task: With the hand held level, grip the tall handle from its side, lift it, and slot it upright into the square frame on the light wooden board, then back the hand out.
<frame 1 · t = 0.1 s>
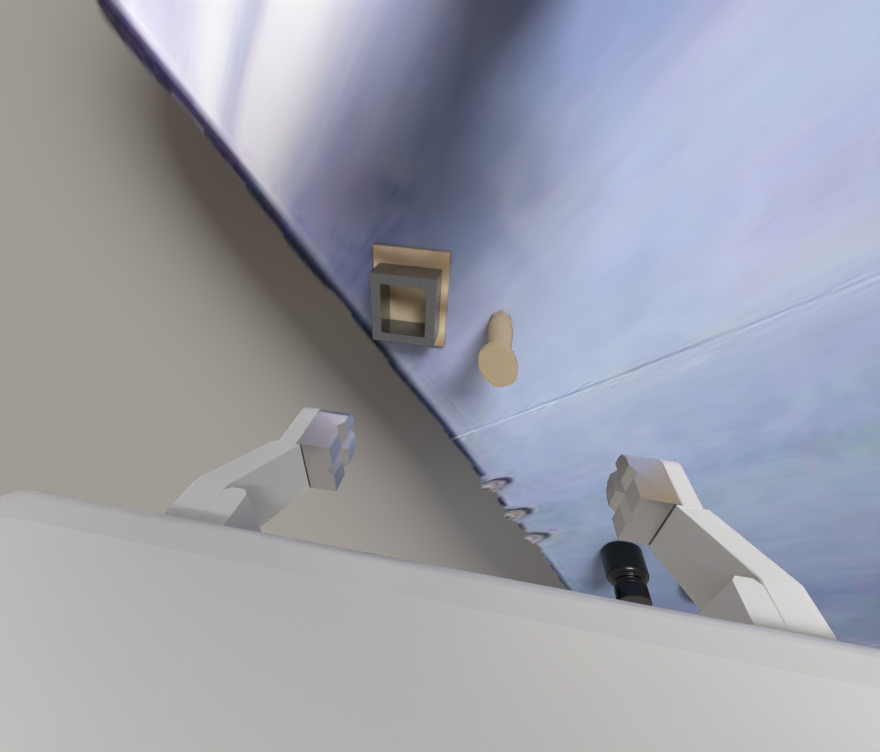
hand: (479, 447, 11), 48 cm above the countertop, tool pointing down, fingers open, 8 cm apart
square frame: (410, 299, 60), resting on base board
base board: (411, 297, 61), on the countertop
ink bottle: (620, 550, 88), on the countertop
handle: (500, 318, 60), on the countertop
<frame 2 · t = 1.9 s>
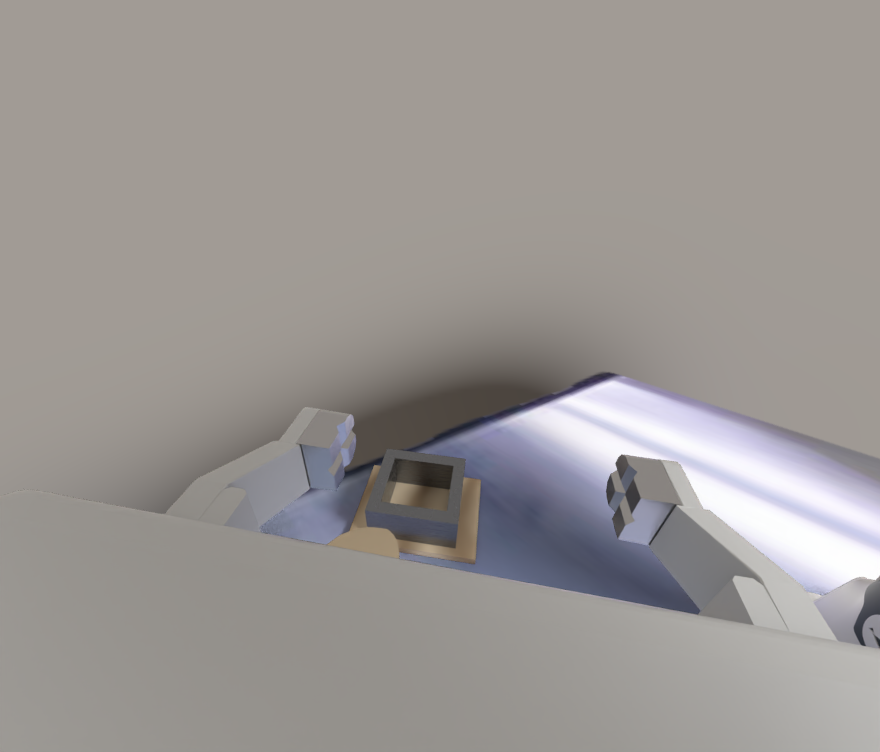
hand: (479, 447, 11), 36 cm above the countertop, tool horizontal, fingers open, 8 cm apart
square frame: (419, 506, 49), resting on base board
base board: (419, 511, 50), on the countertop
handle: (372, 634, 38), on the countertop
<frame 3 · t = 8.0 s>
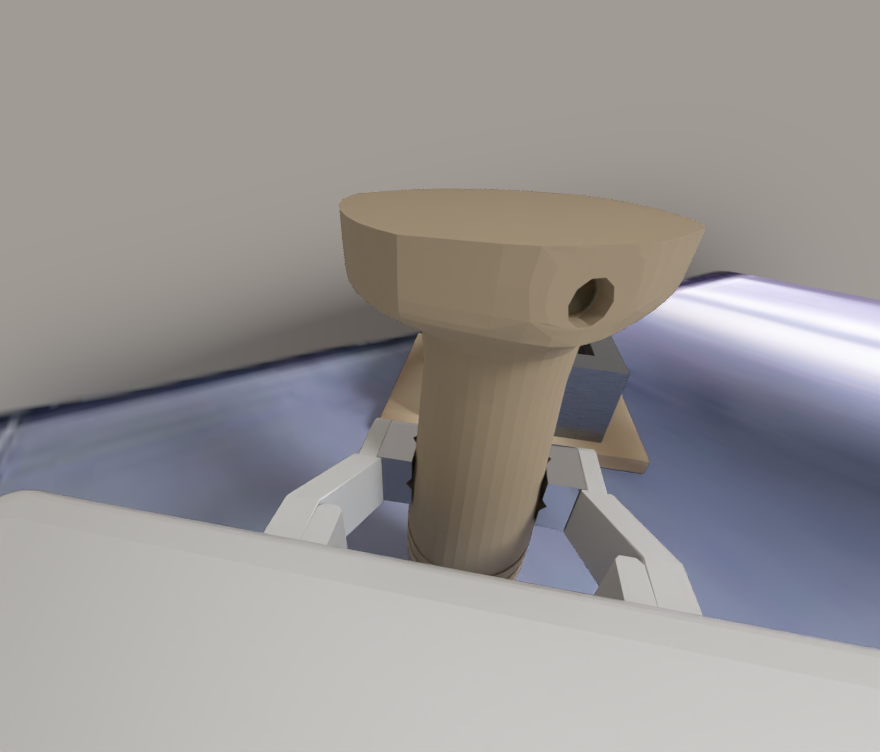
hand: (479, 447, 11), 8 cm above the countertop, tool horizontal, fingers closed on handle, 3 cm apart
square frame: (509, 383, 27), resting on base board
base board: (507, 394, 27), on the countertop
handle: (455, 604, 15), on the countertop, touching gripper
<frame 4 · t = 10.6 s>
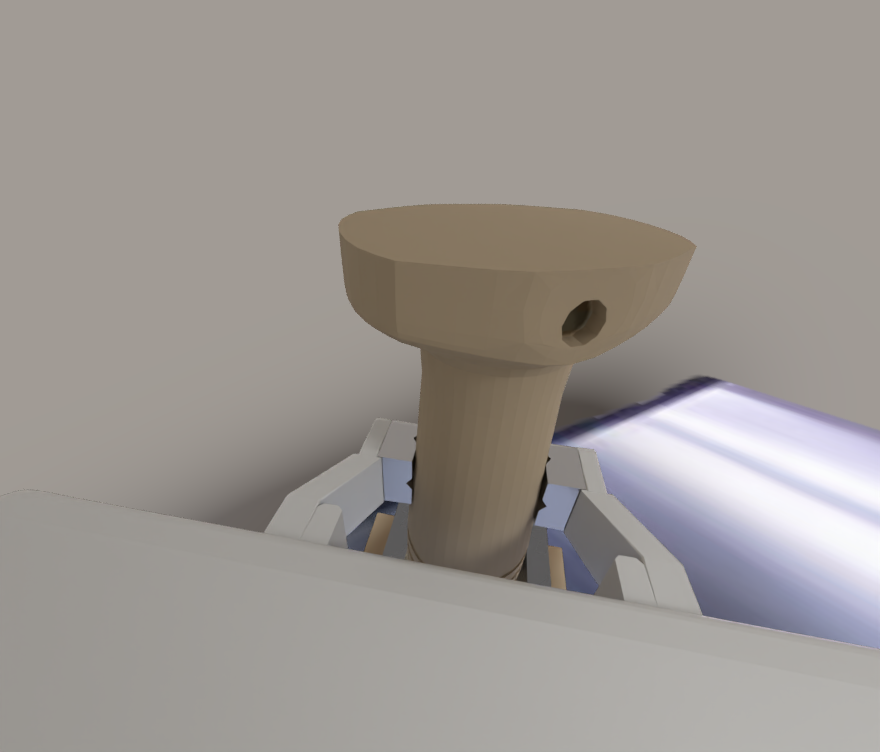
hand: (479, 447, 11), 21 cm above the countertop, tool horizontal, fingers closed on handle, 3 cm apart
square frame: (458, 603, 27), resting on base board
base board: (457, 609, 27), on the countertop
handle: (454, 609, 15), point 13 cm above the countertop, touching gripper
when the fingers open (10 cm above the countertop, at t = 13.5 s): handle stays where it is, resting on base board.
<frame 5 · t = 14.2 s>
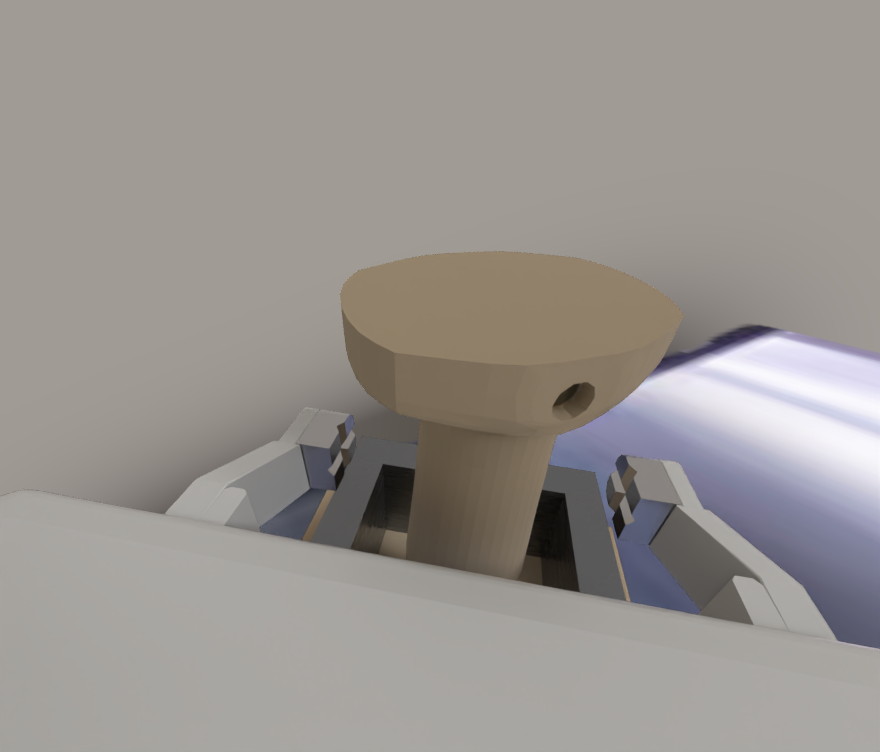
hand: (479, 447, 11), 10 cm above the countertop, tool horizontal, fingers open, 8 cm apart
square frame: (452, 617, 16), resting on base board
base board: (451, 627, 17), on the countertop
handle: (451, 620, 16), point 1 cm above the countertop, touching base board
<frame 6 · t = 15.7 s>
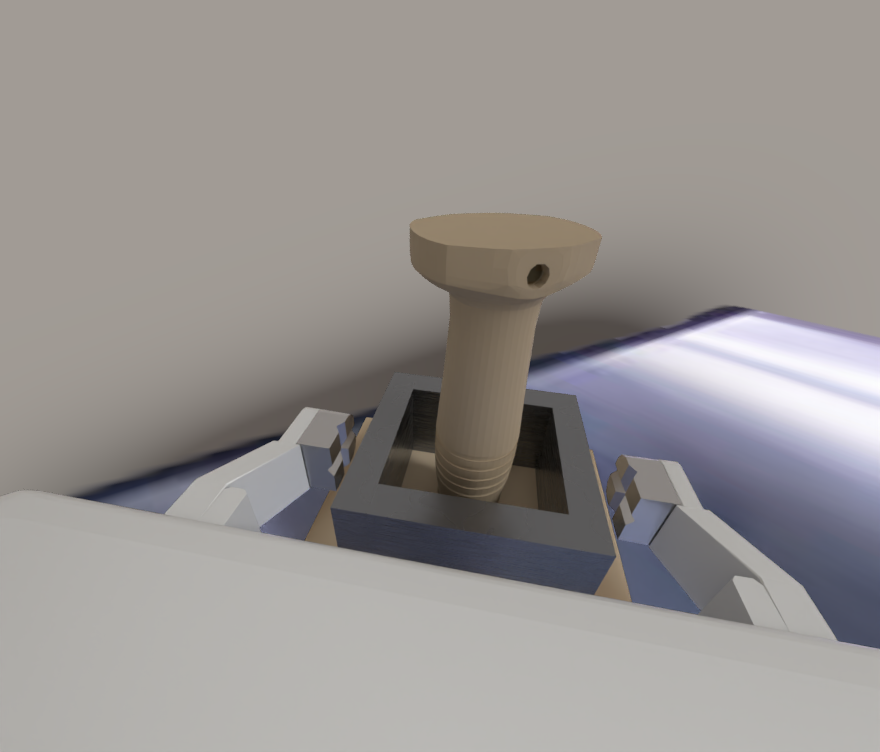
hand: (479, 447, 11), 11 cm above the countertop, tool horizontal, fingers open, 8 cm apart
square frame: (467, 504, 21), resting on base board
base board: (466, 514, 21), on the countertop
handle: (466, 506, 21), point 1 cm above the countertop, touching base board
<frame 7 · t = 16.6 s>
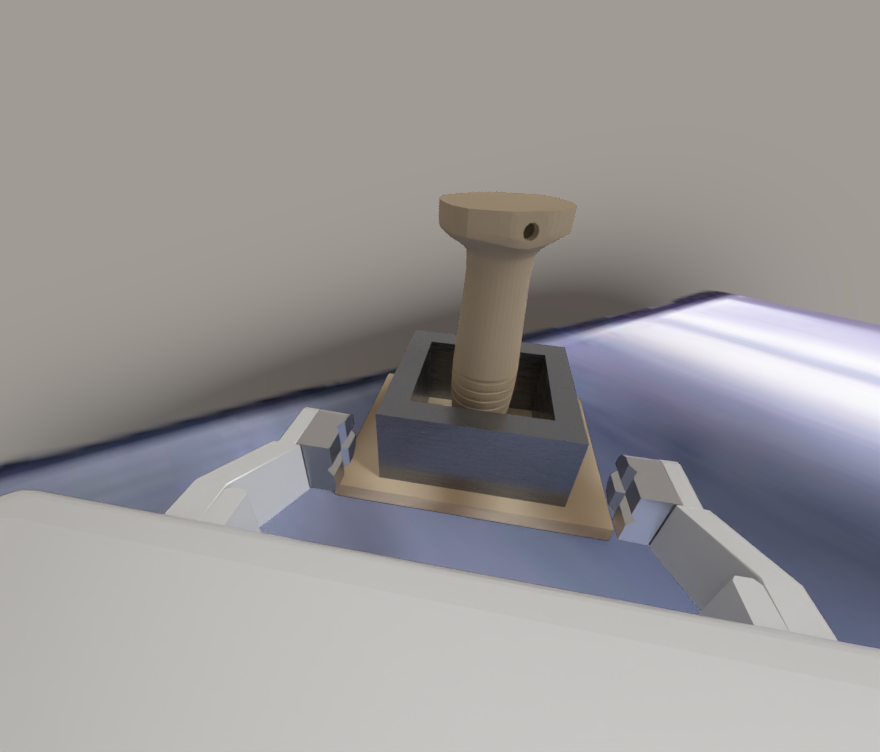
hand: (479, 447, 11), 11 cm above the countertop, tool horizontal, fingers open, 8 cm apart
square frame: (476, 434, 26), resting on base board
base board: (474, 444, 26), on the countertop
handle: (475, 436, 26), point 1 cm above the countertop, touching base board
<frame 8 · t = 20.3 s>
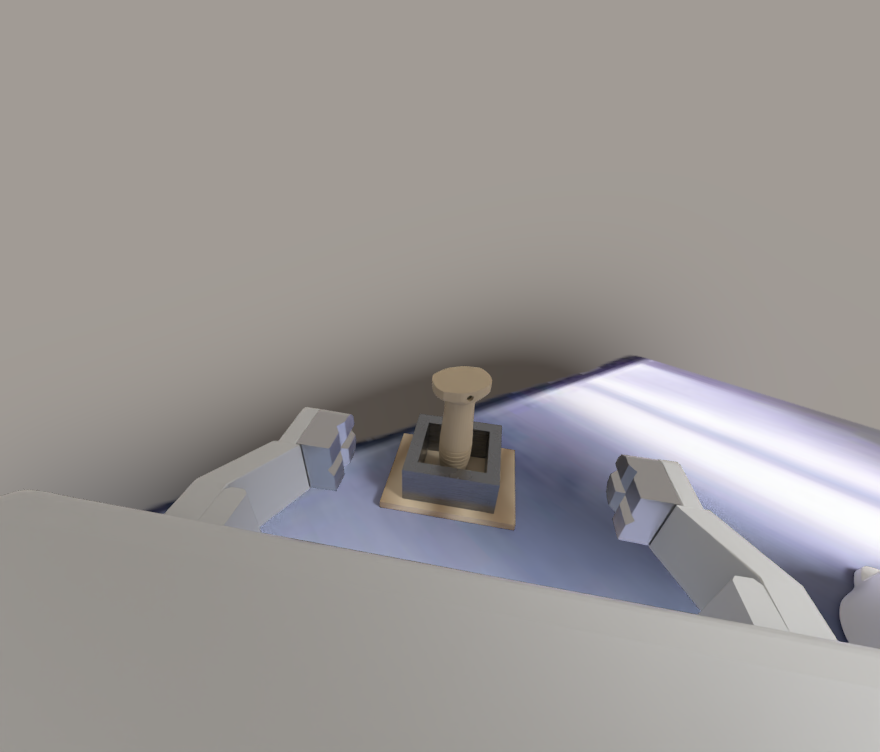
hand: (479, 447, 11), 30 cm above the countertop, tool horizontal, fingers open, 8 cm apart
square frame: (452, 473, 48), resting on base board
base board: (452, 478, 48), on the countertop
handle: (452, 475, 48), point 1 cm above the countertop, touching base board
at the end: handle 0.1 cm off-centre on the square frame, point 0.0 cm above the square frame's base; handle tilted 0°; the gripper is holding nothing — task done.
